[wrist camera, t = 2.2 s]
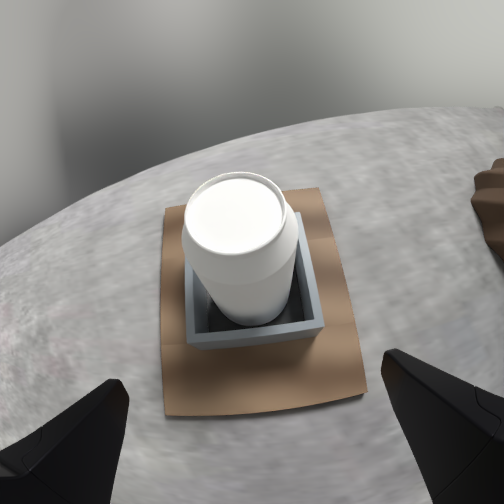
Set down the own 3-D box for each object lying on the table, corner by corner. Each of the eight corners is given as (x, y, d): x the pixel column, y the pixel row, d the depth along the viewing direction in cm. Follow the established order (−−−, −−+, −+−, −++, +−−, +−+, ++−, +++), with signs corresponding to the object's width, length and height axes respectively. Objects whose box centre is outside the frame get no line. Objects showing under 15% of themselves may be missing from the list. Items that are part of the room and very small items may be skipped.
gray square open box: (314, 338, 21) (324, 326, 17) (202, 351, 21) (186, 343, 17) (296, 240, 25) (299, 211, 21) (198, 252, 26) (185, 227, 22)
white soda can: (302, 305, 22) (328, 227, 12) (237, 342, 21) (201, 295, 11) (265, 249, 25) (258, 148, 15) (205, 281, 24) (156, 195, 14)
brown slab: (364, 392, 18) (367, 392, 18) (168, 414, 19) (165, 415, 18) (317, 192, 28) (318, 187, 27) (167, 212, 28) (165, 208, 27)
